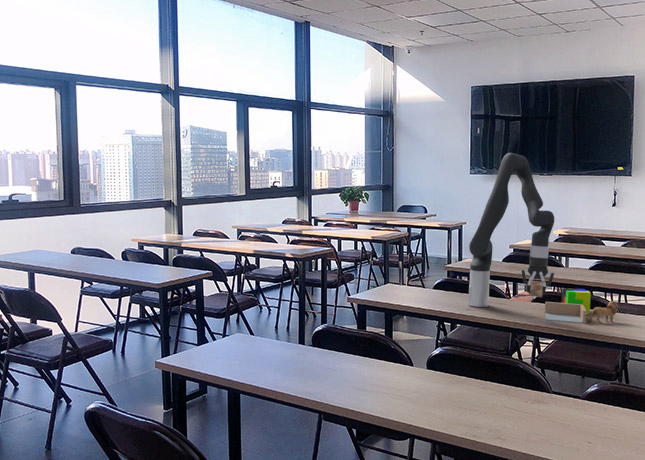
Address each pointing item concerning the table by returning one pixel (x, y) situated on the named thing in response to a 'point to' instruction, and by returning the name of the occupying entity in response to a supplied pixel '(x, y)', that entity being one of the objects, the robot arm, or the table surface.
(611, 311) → the lion figurine
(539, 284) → the block
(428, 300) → the table surface
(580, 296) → the puzzle toy
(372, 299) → the table surface
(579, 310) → the arena
